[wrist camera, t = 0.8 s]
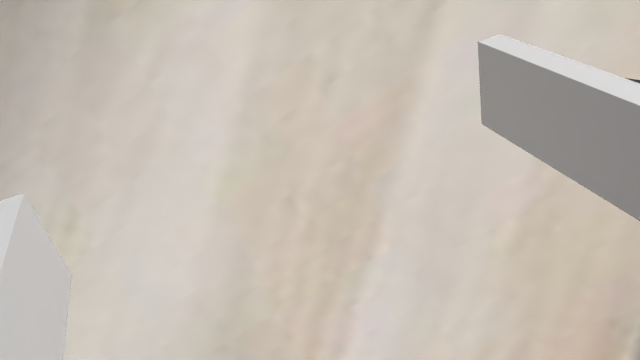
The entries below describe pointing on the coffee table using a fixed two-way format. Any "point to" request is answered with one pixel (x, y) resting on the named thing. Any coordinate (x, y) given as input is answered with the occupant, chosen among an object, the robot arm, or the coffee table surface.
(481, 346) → the coffee table surface
